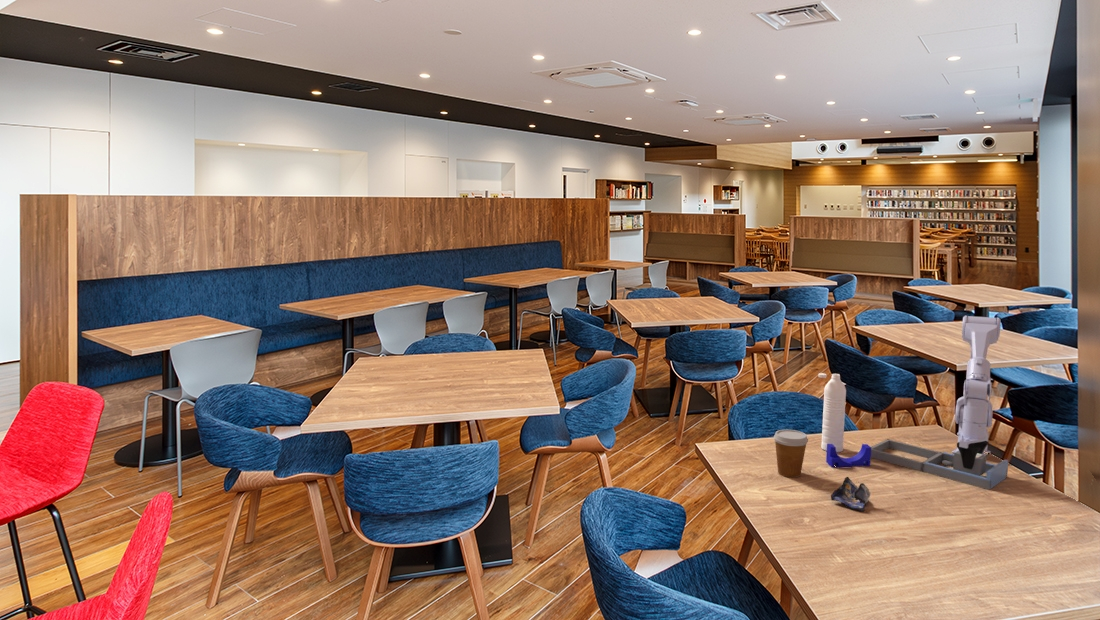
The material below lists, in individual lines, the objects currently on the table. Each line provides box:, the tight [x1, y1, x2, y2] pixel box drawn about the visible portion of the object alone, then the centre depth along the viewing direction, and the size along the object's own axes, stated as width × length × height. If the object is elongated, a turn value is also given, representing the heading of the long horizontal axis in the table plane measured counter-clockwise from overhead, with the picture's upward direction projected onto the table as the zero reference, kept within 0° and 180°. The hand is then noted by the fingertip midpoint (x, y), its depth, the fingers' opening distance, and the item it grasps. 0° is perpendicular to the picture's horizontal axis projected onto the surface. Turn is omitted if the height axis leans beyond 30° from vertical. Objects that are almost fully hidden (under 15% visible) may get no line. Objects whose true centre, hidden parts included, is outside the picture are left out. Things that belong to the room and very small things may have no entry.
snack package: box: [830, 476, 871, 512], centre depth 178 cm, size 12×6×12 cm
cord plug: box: [941, 451, 988, 477], centre depth 196 cm, size 4×11×5 cm, turn 39°
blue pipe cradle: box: [825, 443, 872, 468], centre depth 204 cm, size 12×4×6 cm, turn 87°
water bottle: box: [817, 372, 847, 453], centre depth 216 cm, size 9×6×25 cm
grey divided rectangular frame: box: [870, 438, 1009, 490], centre depth 202 cm, size 14×34×5 cm, turn 39°
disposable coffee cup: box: [773, 429, 809, 478], centre depth 197 cm, size 10×10×12 cm
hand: (970, 466), depth 194 cm, fingers closed on cord plug, 4 cm apart
